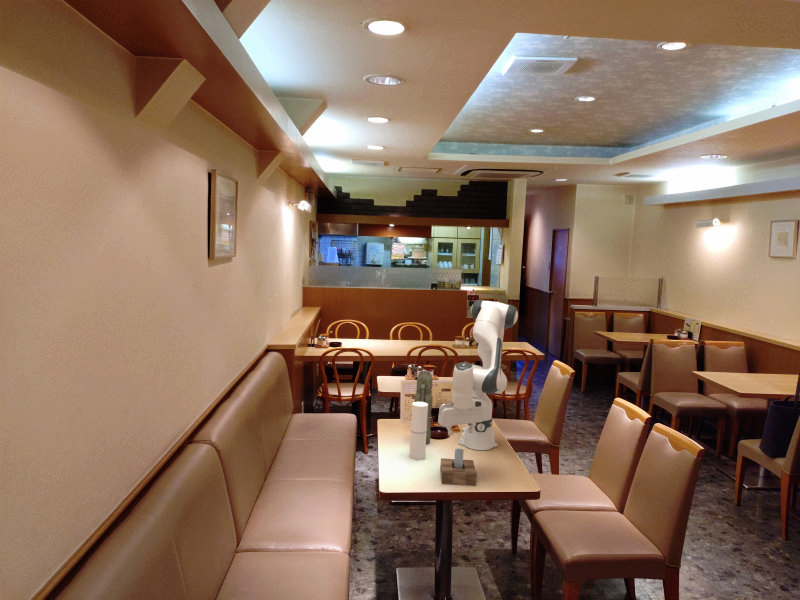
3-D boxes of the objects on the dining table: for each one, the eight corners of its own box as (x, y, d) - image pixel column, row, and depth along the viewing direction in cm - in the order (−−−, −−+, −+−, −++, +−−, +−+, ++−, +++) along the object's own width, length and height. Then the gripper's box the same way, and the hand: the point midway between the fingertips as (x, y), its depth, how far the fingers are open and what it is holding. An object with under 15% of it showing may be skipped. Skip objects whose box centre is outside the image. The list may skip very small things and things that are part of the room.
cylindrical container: (407, 458, 247) (410, 404, 244) (412, 452, 254) (415, 400, 251) (421, 461, 244) (425, 407, 242) (427, 455, 251) (430, 403, 248)
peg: (451, 475, 231) (453, 448, 230) (459, 475, 232) (461, 448, 231) (455, 479, 228) (457, 452, 226) (463, 478, 229) (465, 451, 227)
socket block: (440, 469, 237) (440, 458, 236) (472, 471, 237) (473, 460, 236) (441, 483, 223) (442, 472, 222) (475, 485, 223) (476, 474, 222)
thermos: (411, 445, 262) (415, 374, 258) (412, 436, 274) (416, 368, 270) (430, 446, 262) (434, 376, 258) (430, 437, 274) (434, 370, 270)
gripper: (442, 406, 219) (441, 439, 221) (486, 402, 227) (485, 433, 229) (436, 401, 225) (434, 433, 227) (479, 397, 233) (477, 428, 235)
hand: (460, 433), depth 228 cm, fingers open, 8 cm apart
